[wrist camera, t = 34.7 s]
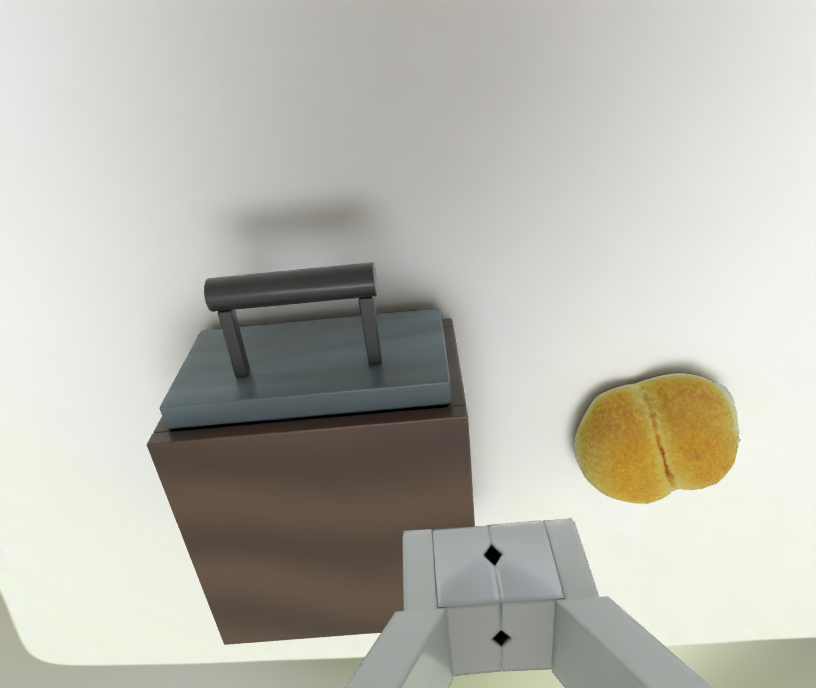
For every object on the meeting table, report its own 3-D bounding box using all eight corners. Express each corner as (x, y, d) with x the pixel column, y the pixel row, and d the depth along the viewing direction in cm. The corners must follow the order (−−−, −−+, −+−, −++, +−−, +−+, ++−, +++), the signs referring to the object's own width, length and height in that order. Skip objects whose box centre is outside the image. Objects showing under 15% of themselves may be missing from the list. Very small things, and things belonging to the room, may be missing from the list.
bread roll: (556, 396, 36) (573, 441, 33) (715, 349, 35) (750, 390, 32) (586, 497, 40) (604, 546, 37) (730, 458, 39) (763, 505, 36)
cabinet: (200, 342, 34) (145, 444, 27) (452, 318, 34) (468, 416, 26) (254, 523, 41) (223, 645, 34) (465, 506, 41) (481, 625, 33)
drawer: (175, 244, 31) (122, 309, 25) (433, 219, 30) (442, 278, 24) (253, 506, 39) (228, 601, 33) (454, 490, 39) (465, 582, 33)
